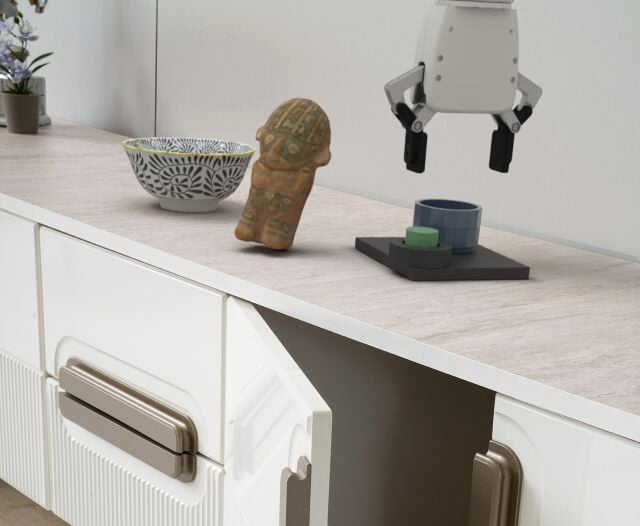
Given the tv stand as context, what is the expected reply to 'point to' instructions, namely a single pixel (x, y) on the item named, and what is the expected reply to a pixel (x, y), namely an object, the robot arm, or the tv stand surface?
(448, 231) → the small bowl
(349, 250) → the tv stand surface
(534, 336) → the tv stand surface
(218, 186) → the bowl
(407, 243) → the button
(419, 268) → the black flat block
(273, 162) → the figurine
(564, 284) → the tv stand surface
